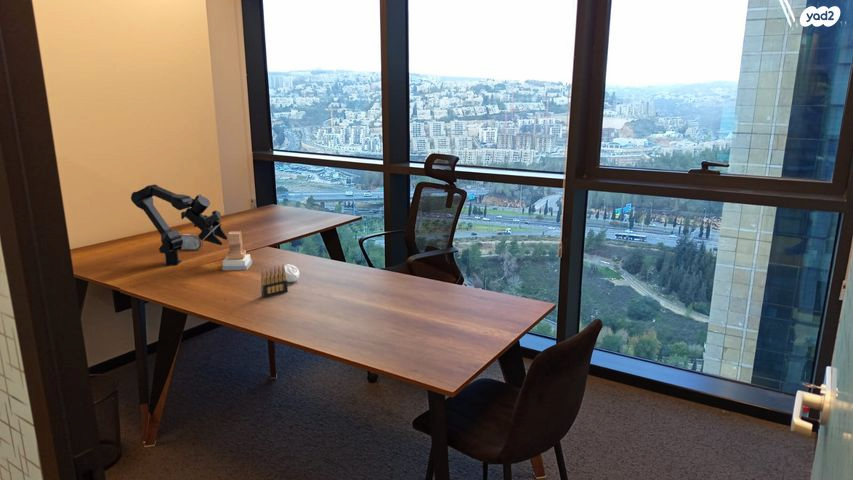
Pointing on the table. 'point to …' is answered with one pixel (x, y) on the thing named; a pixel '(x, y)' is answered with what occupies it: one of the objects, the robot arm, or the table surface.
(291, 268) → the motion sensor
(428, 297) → the table surface
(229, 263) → the white square slab
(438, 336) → the table surface
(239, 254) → the pillar
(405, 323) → the table surface
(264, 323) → the table surface
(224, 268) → the tower base
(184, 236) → the tin
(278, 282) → the ammunition clip
